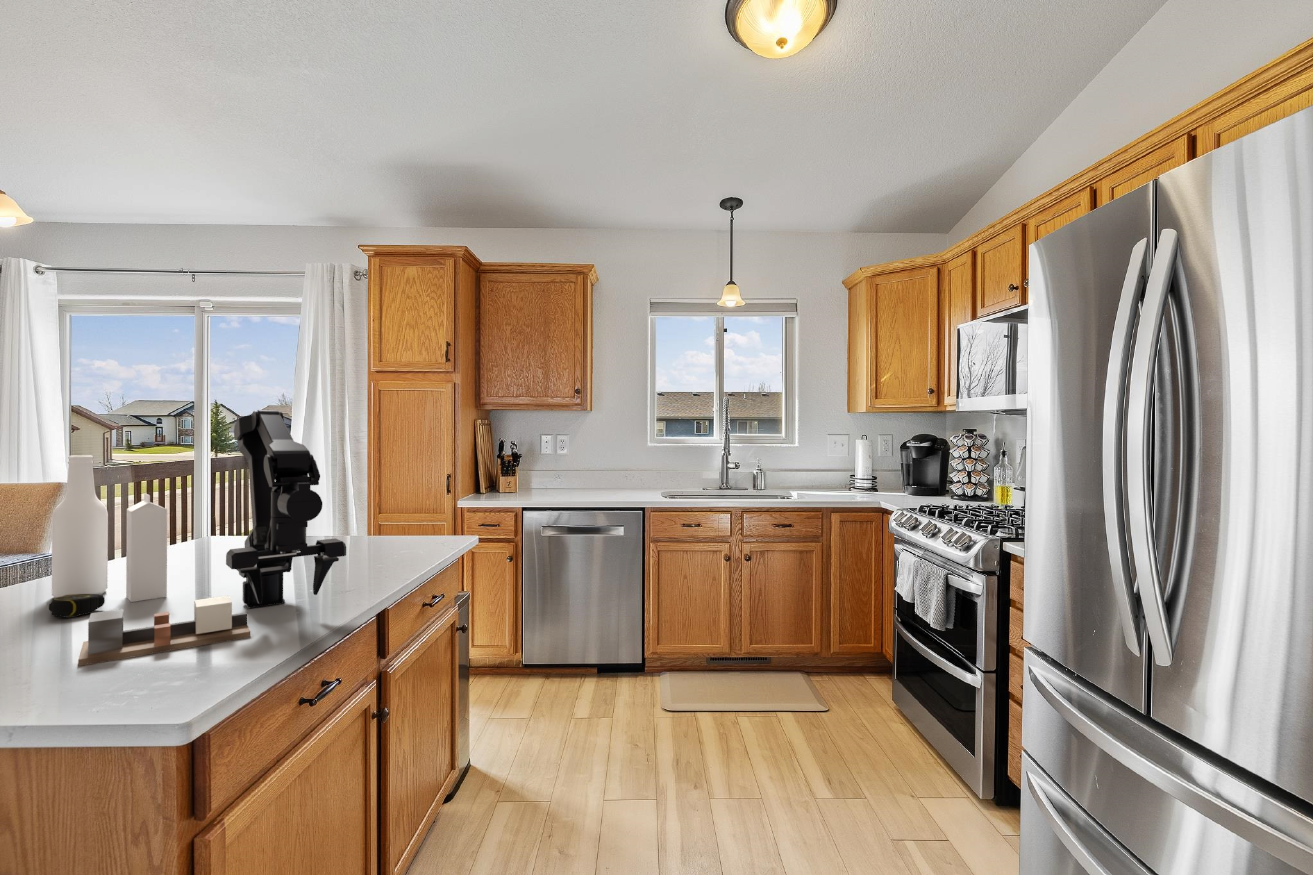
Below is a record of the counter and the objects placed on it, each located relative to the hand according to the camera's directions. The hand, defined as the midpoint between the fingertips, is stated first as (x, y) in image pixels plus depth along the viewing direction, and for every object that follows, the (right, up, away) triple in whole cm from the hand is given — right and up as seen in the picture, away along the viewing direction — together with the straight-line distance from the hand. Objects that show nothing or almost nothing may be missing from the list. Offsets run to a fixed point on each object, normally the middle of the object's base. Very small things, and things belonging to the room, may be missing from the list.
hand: (288, 598), depth 116 cm
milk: (-40, -4, +16) cm, 43 cm away
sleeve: (-9, -3, -7) cm, 12 cm away
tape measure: (-44, -4, +4) cm, 44 cm away
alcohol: (-55, -4, +17) cm, 58 cm away
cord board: (-14, -5, -11) cm, 18 cm away
